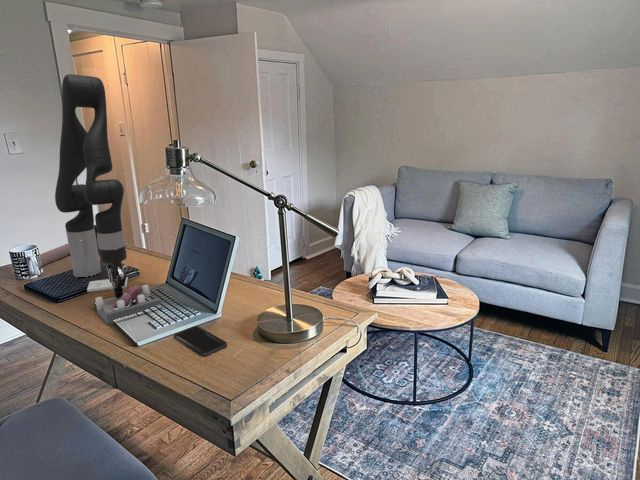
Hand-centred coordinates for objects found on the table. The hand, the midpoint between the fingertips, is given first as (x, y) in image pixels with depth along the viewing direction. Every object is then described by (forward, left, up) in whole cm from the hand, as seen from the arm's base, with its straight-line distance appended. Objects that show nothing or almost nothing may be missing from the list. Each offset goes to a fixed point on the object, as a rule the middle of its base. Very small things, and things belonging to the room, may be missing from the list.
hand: (119, 297), depth 145 cm
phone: (+40, +7, -3) cm, 41 cm away
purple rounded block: (+3, +2, -2) cm, 4 cm away
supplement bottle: (-58, +12, -2) cm, 60 cm away
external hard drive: (-18, +2, -3) cm, 18 cm away
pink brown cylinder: (-62, -5, -3) cm, 62 cm away
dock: (+8, 0, -2) cm, 8 cm away
